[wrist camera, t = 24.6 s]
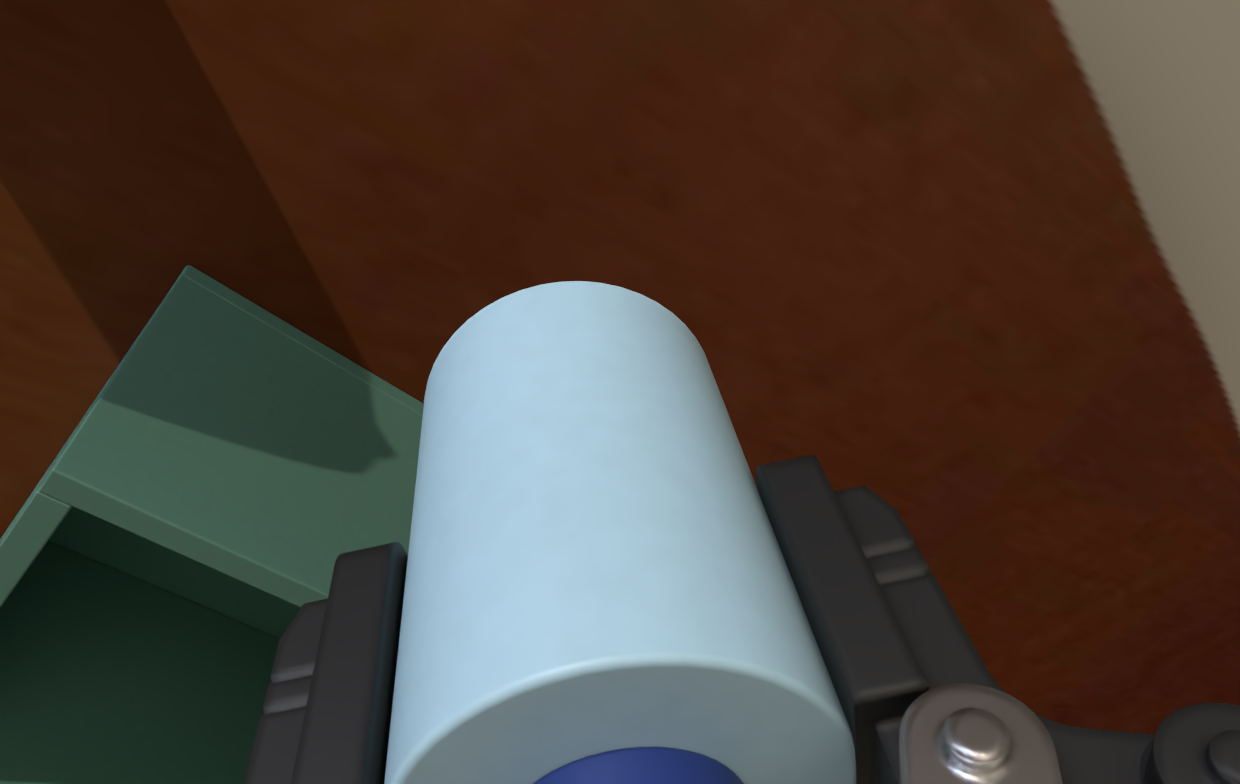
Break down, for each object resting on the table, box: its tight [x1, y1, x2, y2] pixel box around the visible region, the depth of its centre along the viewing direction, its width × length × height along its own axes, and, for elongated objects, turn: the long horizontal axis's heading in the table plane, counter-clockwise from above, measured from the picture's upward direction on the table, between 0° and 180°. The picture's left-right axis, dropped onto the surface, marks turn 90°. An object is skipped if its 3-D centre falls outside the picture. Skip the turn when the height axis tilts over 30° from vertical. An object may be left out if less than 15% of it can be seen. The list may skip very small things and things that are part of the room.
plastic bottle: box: [384, 281, 856, 784], centre depth 11 cm, size 5×5×8 cm
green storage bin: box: [0, 265, 424, 784], centre depth 31 cm, size 17×14×11 cm
